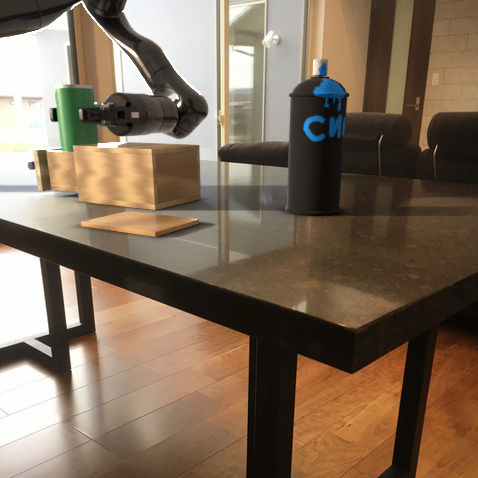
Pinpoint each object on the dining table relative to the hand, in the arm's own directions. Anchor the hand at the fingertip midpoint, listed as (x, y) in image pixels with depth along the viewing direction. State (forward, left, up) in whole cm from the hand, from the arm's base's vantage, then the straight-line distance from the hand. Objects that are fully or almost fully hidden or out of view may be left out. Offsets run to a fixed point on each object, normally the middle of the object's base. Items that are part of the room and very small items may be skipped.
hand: (66, 115), depth 84 cm
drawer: (0, +2, -12) cm, 12 cm away
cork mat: (+25, -13, -13) cm, 31 cm away
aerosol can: (+40, +8, -13) cm, 43 cm away
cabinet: (+12, +2, -13) cm, 18 cm away
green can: (0, +2, -11) cm, 11 cm away
